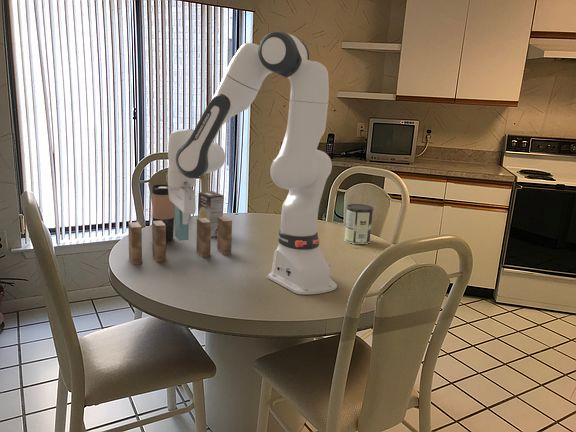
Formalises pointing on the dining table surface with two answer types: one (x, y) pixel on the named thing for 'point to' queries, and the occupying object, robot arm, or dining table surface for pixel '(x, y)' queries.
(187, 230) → the domino
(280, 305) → the dining table surface
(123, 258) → the dining table surface
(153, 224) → the domino
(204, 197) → the coffee box
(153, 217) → the travel mug
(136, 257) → the domino far
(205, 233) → the domino
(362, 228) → the coffee can
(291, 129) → the robot arm
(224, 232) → the domino
